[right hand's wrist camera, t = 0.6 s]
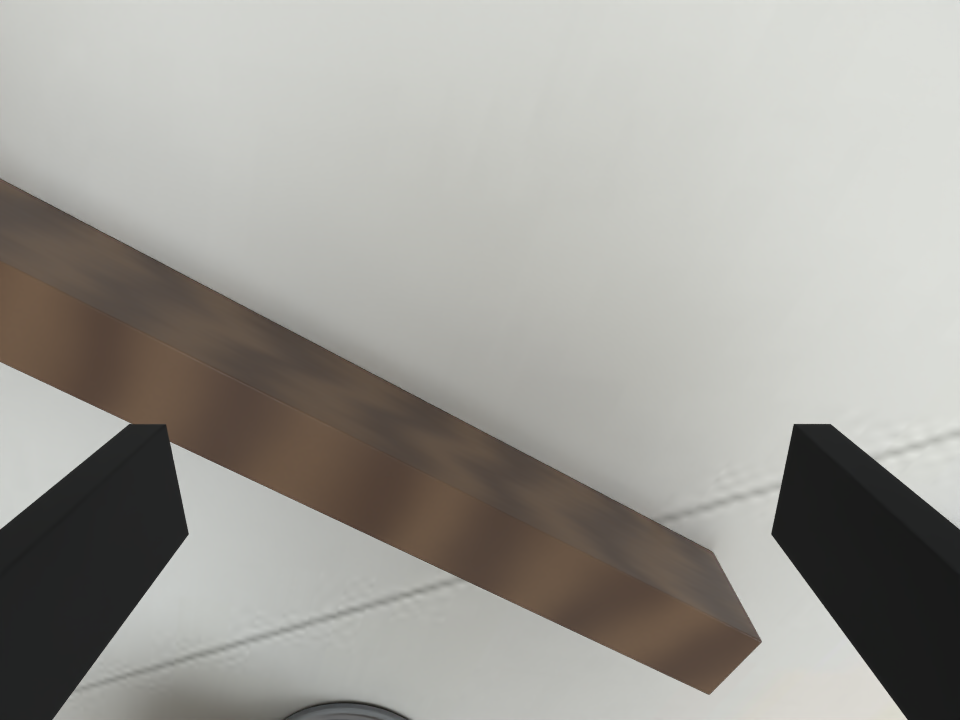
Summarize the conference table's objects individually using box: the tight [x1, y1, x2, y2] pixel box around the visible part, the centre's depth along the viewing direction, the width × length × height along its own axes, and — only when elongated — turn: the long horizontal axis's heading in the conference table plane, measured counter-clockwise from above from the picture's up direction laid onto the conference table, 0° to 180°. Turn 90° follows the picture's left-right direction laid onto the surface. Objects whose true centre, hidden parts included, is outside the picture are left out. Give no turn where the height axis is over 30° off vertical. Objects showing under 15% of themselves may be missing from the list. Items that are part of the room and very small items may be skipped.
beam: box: [0, 179, 762, 695], centre depth 34 cm, size 64×5×8 cm, turn 60°
